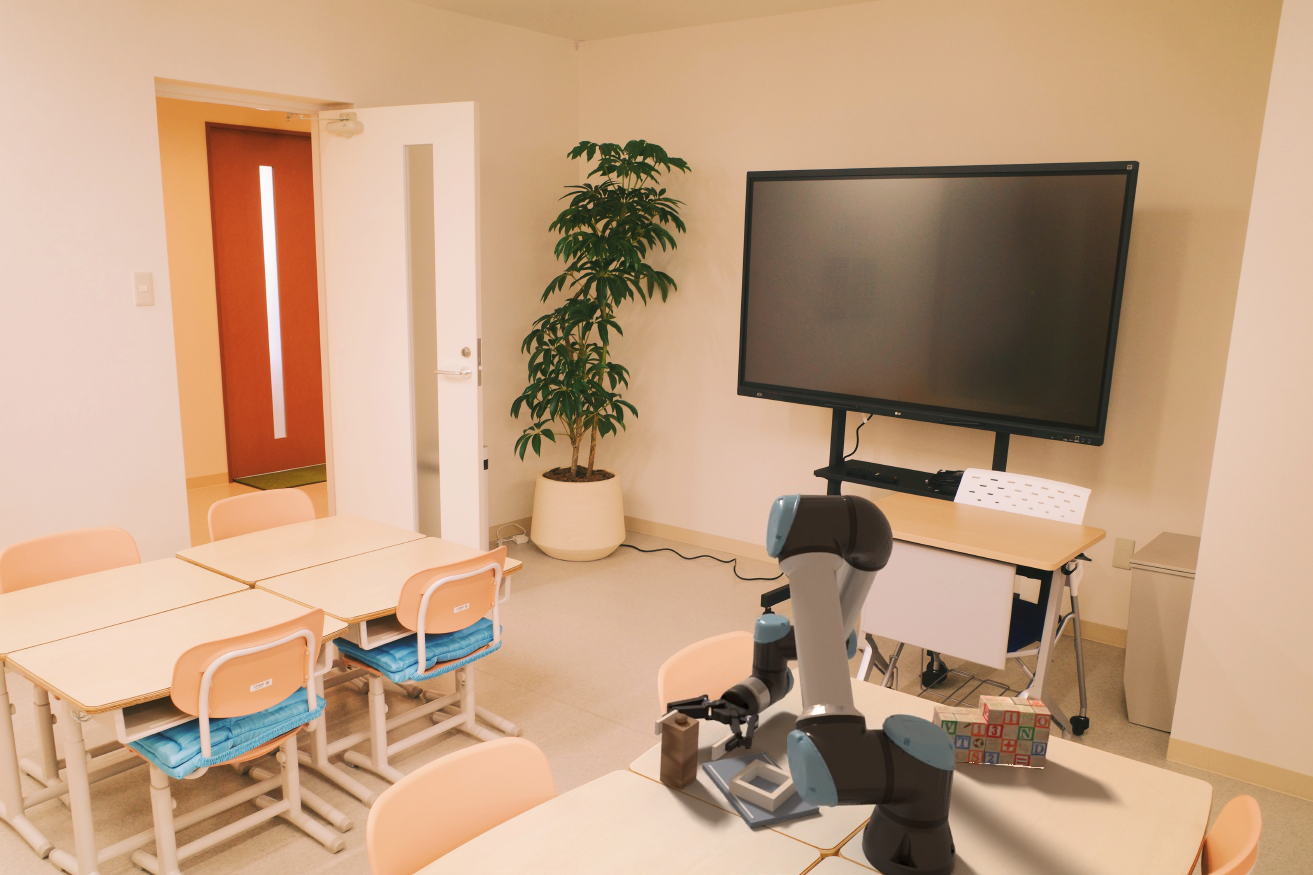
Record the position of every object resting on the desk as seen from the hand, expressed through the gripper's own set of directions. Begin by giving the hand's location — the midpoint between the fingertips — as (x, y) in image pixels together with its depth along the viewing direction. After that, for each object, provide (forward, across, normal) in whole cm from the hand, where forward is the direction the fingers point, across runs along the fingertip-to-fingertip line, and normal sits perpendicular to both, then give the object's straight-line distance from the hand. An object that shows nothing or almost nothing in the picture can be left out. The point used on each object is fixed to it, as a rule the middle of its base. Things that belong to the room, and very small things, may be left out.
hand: (684, 740), depth 170 cm
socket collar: (-4, -16, -7) cm, 18 cm away
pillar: (+2, -1, -7) cm, 7 cm away
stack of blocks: (-46, -43, -7) cm, 64 cm away
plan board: (-5, -14, -7) cm, 16 cm away
